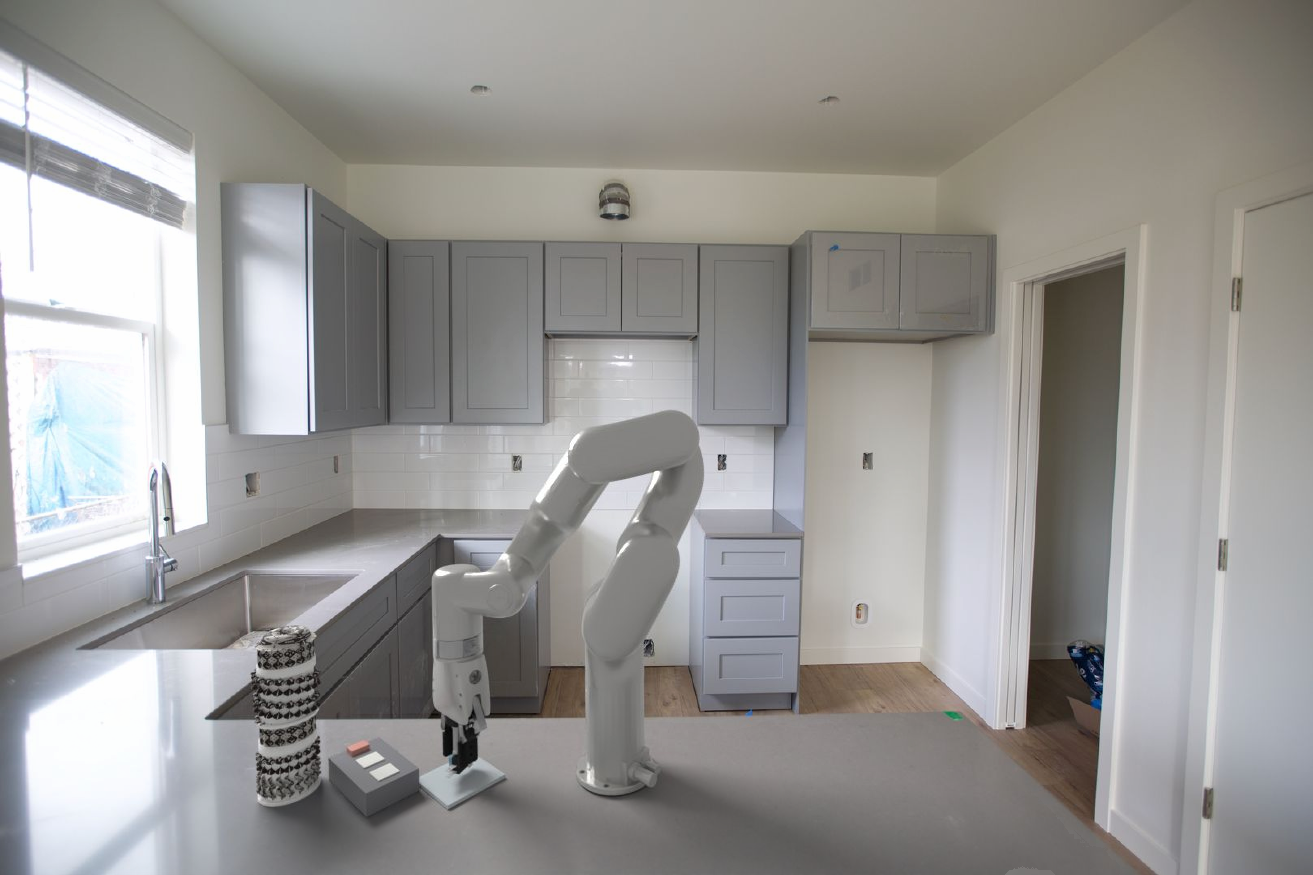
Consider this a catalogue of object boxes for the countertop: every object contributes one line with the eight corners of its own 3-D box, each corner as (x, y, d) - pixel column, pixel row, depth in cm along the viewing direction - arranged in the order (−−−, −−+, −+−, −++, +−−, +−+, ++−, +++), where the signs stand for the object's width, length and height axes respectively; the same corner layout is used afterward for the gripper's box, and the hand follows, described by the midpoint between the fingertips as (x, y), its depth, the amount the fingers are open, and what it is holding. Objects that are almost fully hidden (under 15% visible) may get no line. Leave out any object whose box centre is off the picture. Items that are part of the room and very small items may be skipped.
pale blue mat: (505, 777, 93) (505, 774, 93) (447, 809, 86) (447, 805, 86) (471, 754, 100) (471, 751, 100) (414, 782, 92) (414, 778, 92)
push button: (461, 783, 89) (460, 718, 88) (432, 777, 90) (431, 714, 90) (486, 759, 95) (485, 698, 95) (459, 754, 97) (458, 694, 96)
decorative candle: (239, 800, 88) (234, 637, 88) (296, 766, 97) (292, 617, 96) (281, 814, 85) (276, 645, 84) (336, 778, 94) (333, 624, 93)
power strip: (420, 789, 90) (420, 762, 90) (366, 817, 84) (365, 788, 84) (380, 756, 100) (380, 731, 99) (328, 779, 93) (328, 752, 93)
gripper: (509, 650, 90) (511, 767, 90) (452, 626, 101) (454, 730, 101) (465, 665, 84) (467, 790, 84) (410, 638, 95) (412, 749, 95)
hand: (460, 756), depth 93 cm, fingers closed on push button, 3 cm apart
